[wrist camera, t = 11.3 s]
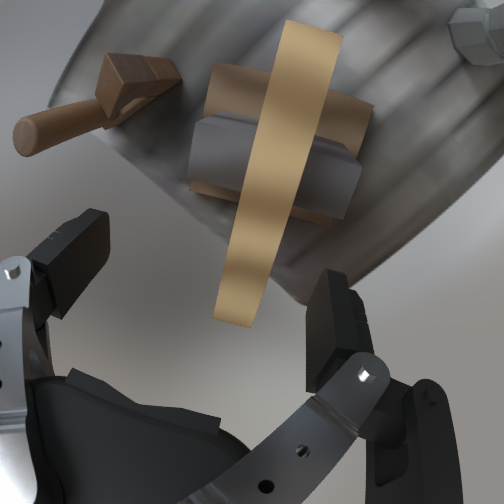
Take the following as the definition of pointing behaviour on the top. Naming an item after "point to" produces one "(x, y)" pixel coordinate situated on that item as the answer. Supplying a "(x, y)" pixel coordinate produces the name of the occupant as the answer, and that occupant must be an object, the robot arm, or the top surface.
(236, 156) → the ridge stand
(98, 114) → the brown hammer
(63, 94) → the top surface
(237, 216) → the oak bar
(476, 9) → the coffee maker
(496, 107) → the top surface
